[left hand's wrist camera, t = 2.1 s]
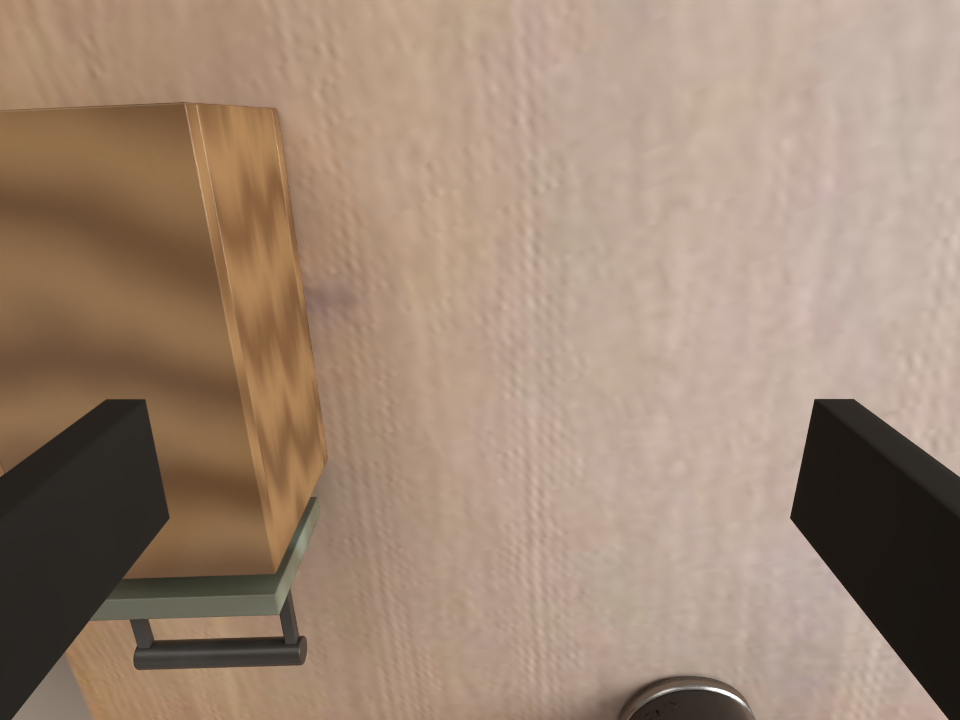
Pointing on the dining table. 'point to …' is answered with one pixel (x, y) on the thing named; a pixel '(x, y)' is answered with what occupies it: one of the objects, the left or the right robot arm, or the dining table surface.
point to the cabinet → (164, 314)
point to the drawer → (216, 612)
